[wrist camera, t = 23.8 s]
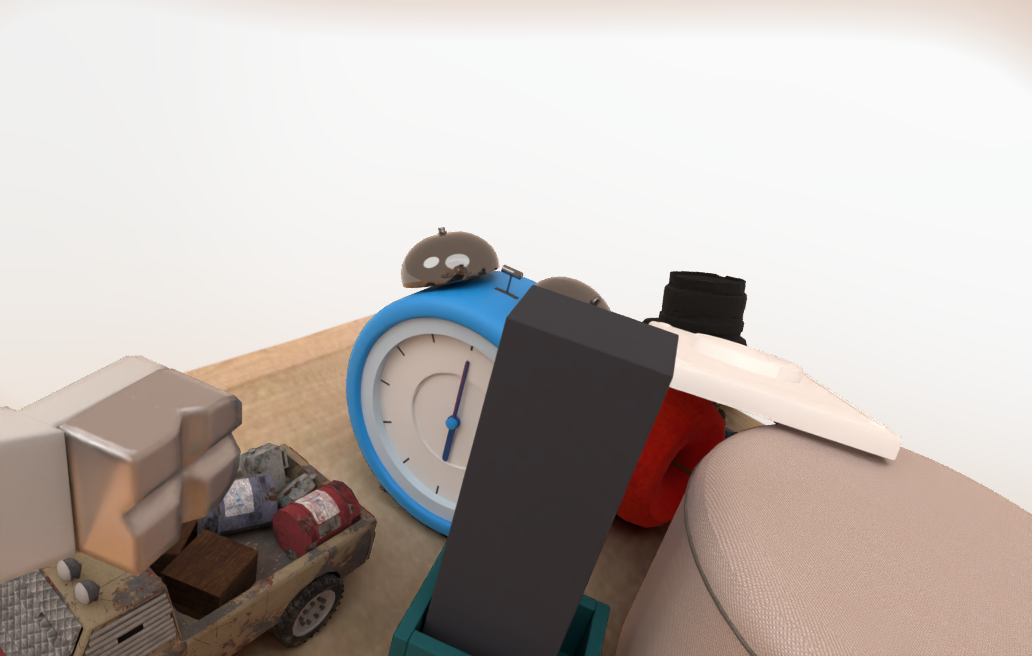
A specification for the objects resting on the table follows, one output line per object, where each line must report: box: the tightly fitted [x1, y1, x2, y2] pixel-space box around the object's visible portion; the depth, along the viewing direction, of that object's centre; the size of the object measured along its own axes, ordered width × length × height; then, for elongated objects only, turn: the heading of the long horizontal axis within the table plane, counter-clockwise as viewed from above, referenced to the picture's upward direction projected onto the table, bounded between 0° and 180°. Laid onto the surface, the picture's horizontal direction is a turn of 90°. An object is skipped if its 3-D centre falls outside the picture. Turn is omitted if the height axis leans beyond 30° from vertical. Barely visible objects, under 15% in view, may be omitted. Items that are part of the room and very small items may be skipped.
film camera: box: [643, 271, 747, 404], centre depth 52 cm, size 15×10×9 cm
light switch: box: [649, 321, 902, 460], centre depth 37 cm, size 11×2×19 cm
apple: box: [616, 387, 725, 528], centre depth 40 cm, size 9×9×11 cm
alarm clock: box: [346, 227, 610, 536], centre depth 34 cm, size 13×6×15 cm, turn 60°
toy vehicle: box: [0, 443, 377, 656], centre depth 23 cm, size 7×18×8 cm, turn 144°
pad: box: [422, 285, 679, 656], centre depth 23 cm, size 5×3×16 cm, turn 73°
